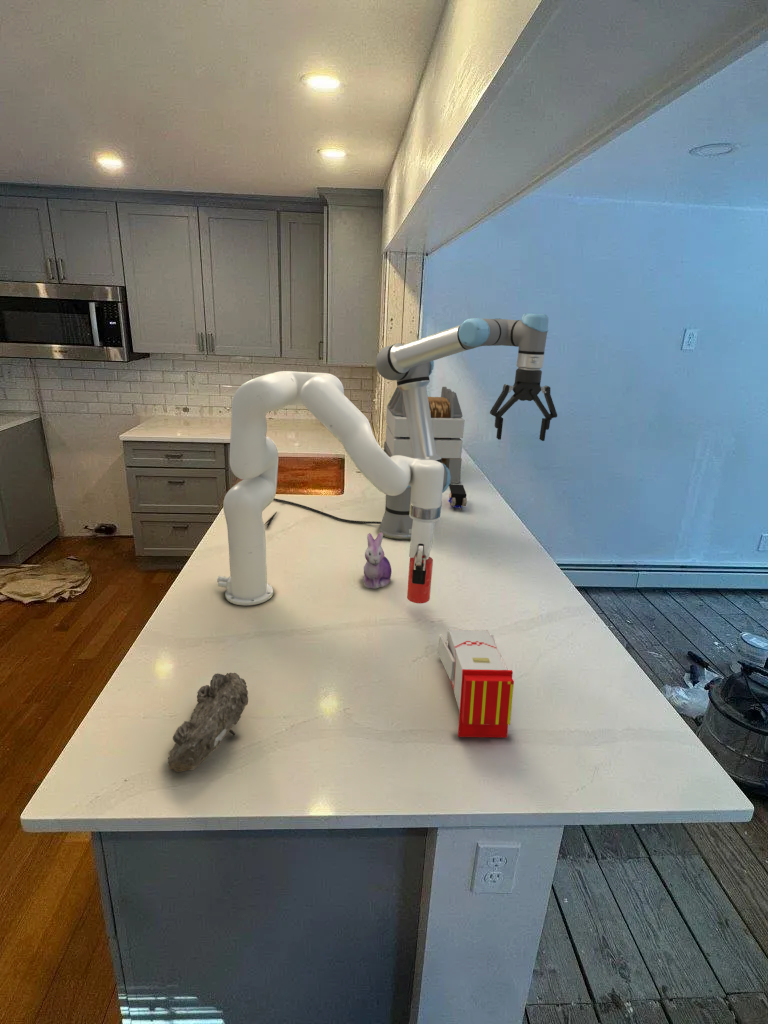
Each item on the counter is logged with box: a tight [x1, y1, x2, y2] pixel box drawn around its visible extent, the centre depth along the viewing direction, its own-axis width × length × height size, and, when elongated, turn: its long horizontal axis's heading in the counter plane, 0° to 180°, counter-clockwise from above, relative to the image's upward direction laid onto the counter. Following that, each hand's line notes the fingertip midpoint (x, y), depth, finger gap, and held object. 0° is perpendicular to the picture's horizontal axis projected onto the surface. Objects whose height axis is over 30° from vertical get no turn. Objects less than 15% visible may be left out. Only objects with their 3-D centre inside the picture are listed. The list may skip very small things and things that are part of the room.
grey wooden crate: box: [383, 386, 465, 484], centre depth 268 cm, size 34×33×41 cm
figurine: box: [362, 532, 392, 589], centre depth 161 cm, size 9×10×15 cm
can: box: [406, 555, 434, 604], centre depth 144 cm, size 6×6×11 cm
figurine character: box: [448, 483, 468, 511], centre depth 230 cm, size 7×8×15 cm
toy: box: [437, 628, 515, 738], centre depth 117 cm, size 12×13×30 cm
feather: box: [264, 512, 277, 529], centre depth 211 cm, size 2×28×2 cm
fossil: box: [167, 672, 249, 773], centre depth 102 cm, size 22×10×15 cm
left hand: (419, 577), depth 144 cm, fingers closed on can, 5 cm apart
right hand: (520, 439), depth 175 cm, fingers open, 13 cm apart
